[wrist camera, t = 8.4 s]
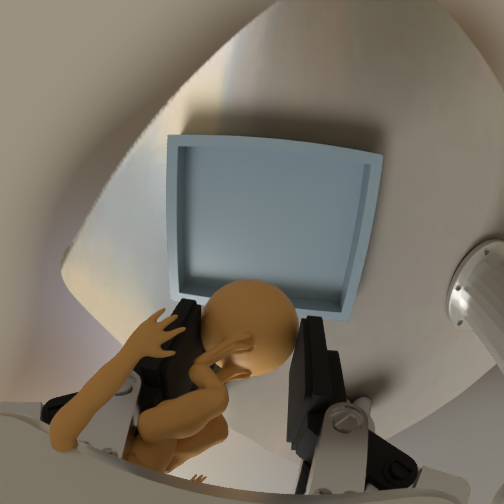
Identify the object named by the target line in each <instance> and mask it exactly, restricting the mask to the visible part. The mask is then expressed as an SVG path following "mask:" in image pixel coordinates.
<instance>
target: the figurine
mask: <svg viewBox="0 0 504 504" xmlns="http://www.w3.org/2000/svg"><path fill="white" fill-rule="evenodd" d="M164 311H165V308H163V309H161V310H159V311H158V312H156V313H155V314H153V315H152V316H150V317H149V318H148V319H147V320H146V321H144V322H143V323H142V324H141V325H140V326H139V327H138V328H137V329H136V330H135V331H134V332H133V334H132V335H131V336H130V337H129V339H128V340H127V342H126V343H125V345H124V346H123V348H122V349H121V350H120V352H119V353H118V354H117V355H116V356H115V357H114V358H113V359H111V360H110V361H109V362H108V363H106V364H105V365H104V366H103V367H102V368H100V369H99V371H98V372H97V373H96V374H95V375H94V376H93V377H92V378H91V379H90V380H89V381H88V382H87V383H86V384H85V385H84V386H83V388H82V389H81V390H80V391H79V392H78V393H77V394H76V395H75V396H74V397H73V398H72V399H71V400H70V401H69V402H68V403H66V404H65V405H64V406H63V407H62V408H61V409H60V410H59V411H58V412H57V413H56V415H55V416H54V417H53V419H52V421H51V423H50V443H51V446H52V448H53V449H54V450H56V451H58V452H66V451H69V450H70V449H72V448H74V447H77V446H78V445H79V444H78V441H77V437H78V436H79V434H80V433H81V432H82V431H83V429H84V428H85V427H86V426H87V425H88V423H89V422H90V421H91V419H92V417H93V416H94V415H95V413H96V412H97V411H98V410H99V409H100V408H101V407H102V406H104V405H105V404H106V403H107V402H108V401H109V400H110V399H111V398H112V397H113V396H114V395H115V394H116V392H117V391H118V390H119V389H120V387H121V386H122V385H123V383H124V382H125V380H126V379H127V377H128V376H129V374H130V373H131V371H132V370H133V369H134V367H135V366H136V364H137V363H138V361H139V360H140V359H141V358H143V357H145V356H150V357H155V358H164V357H168V356H172V355H174V354H175V353H176V352H175V351H165V350H162V349H161V347H160V346H161V344H162V343H164V342H166V341H168V340H169V339H171V338H173V337H174V336H176V335H177V334H179V333H181V332H183V331H185V329H186V328H185V327H181V328H177V329H174V330H172V331H168V332H165V331H163V329H164V328H165V327H166V326H168V325H169V324H170V323H171V322H173V321H174V320H175V319H177V317H178V315H172V316H170V317H168V318H166V319H164V320H163V321H161V322H158V323H157V322H156V321H157V319H158V317H159V316H160V315H161V314H162V313H164ZM298 332H299V322H298V317H297V313H296V310H295V308H294V306H293V304H292V302H291V301H290V299H289V298H288V297H287V296H286V295H285V294H284V293H283V292H282V291H281V290H280V289H278V288H277V287H275V286H274V285H272V284H270V283H267V282H264V281H261V280H255V279H244V280H238V281H234V282H231V283H229V284H227V285H225V286H223V287H222V288H220V289H219V290H218V291H216V292H215V293H214V294H213V295H212V297H211V298H210V299H209V300H208V302H207V304H206V305H205V307H204V310H203V312H202V316H201V326H200V335H201V340H202V343H203V346H204V348H205V350H206V352H205V353H203V354H202V355H200V356H199V357H197V358H196V359H195V361H194V363H193V366H192V367H191V368H190V369H189V377H190V379H191V381H192V382H193V383H194V384H196V385H197V386H199V387H198V388H197V390H196V391H192V392H189V393H186V394H184V395H182V396H180V397H178V398H175V399H171V400H165V401H163V402H161V403H159V404H158V405H157V406H156V407H154V408H151V409H148V410H146V411H144V412H142V413H141V414H140V416H139V417H138V420H137V429H138V431H139V434H138V435H137V436H135V437H134V439H133V443H132V447H131V452H130V456H129V457H128V462H131V463H134V464H137V465H140V466H142V467H145V468H148V469H152V470H155V471H158V472H161V473H169V472H171V471H172V470H173V469H175V468H176V467H178V466H180V465H181V464H183V463H184V462H185V461H186V460H188V459H190V458H191V457H194V456H196V455H198V454H200V453H202V452H203V451H205V450H206V449H208V448H210V447H211V446H213V445H216V444H219V443H221V442H223V441H224V440H225V439H226V438H227V436H228V425H227V422H226V420H225V418H224V417H223V415H222V414H221V413H223V412H224V411H225V409H226V407H227V405H228V402H229V396H228V391H227V388H226V387H225V385H224V384H226V383H227V382H229V381H232V380H243V379H247V378H249V377H250V376H259V375H263V374H266V373H269V372H271V371H273V370H275V369H276V368H278V367H279V366H281V365H282V364H283V363H284V362H285V361H286V360H287V359H288V358H289V356H290V355H291V353H292V352H293V350H294V348H295V345H296V341H297V337H298ZM214 363H216V364H217V365H218V366H220V367H221V368H222V369H221V370H220V371H219V372H218V373H216V374H215V373H214V372H213V370H212V369H211V368H210V367H209V366H211V365H213V364H214ZM196 476H197V475H195V476H194V477H193V478H192V479H191V481H195V482H200V483H201V482H202V481H203V480H204V479H205V478H206V477H204V478H202V477H203V475H201V476H199V477H198V478H197V479H196V480H194V479H195V477H196ZM201 478H202V479H201Z"/></svg>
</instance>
